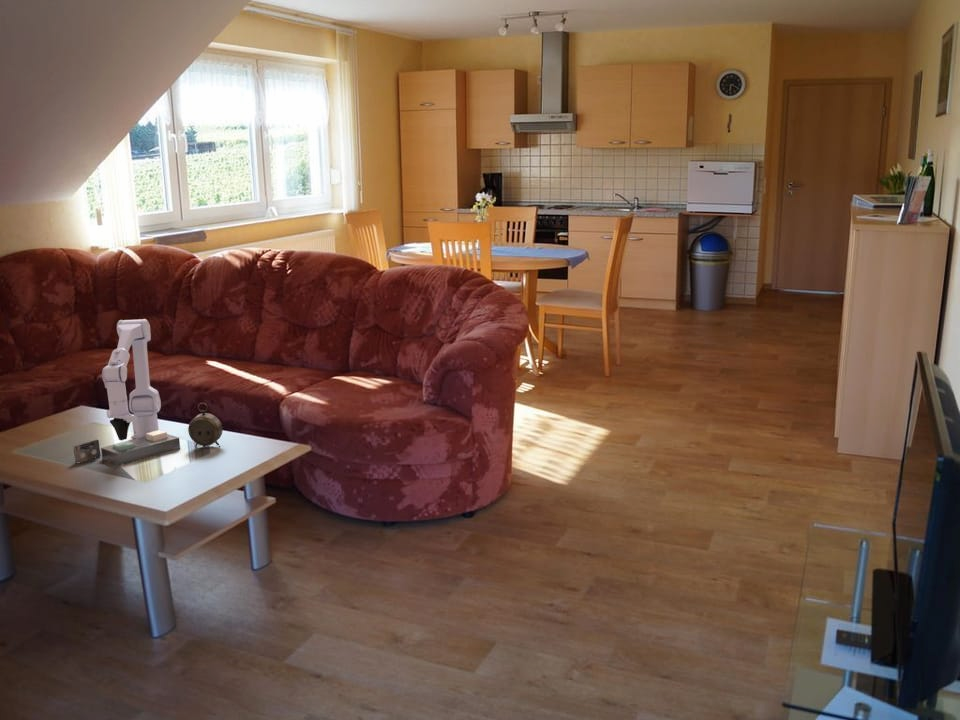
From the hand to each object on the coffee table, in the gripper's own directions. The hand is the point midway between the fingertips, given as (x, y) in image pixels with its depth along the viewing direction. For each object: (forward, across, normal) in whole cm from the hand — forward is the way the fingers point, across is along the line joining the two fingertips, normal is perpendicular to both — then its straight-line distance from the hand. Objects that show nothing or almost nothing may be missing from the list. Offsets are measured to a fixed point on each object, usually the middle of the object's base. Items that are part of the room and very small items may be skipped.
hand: (122, 439), depth 291 cm
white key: (+5, 0, +12) cm, 13 cm away
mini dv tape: (+7, -10, -8) cm, 15 cm away
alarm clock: (+7, +13, +23) cm, 27 cm away
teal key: (+6, 0, 0) cm, 6 cm away
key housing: (+7, 0, +6) cm, 9 cm away
